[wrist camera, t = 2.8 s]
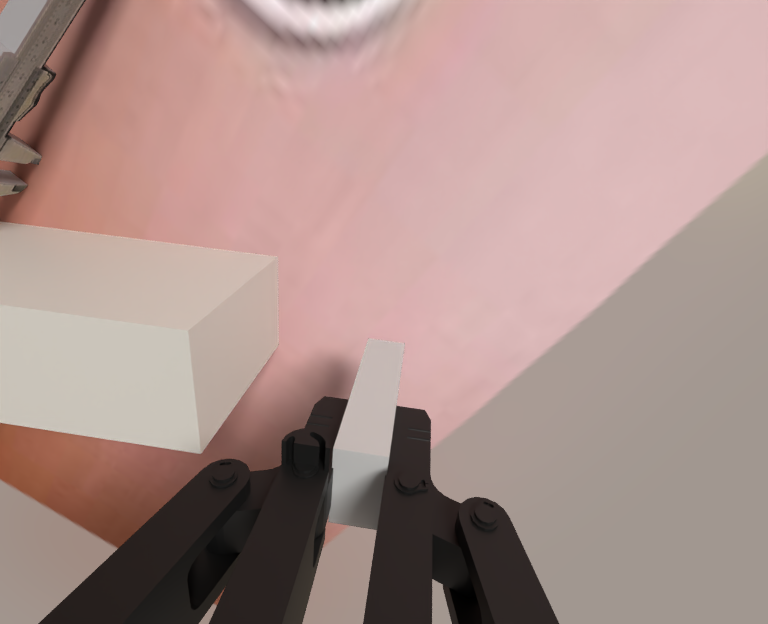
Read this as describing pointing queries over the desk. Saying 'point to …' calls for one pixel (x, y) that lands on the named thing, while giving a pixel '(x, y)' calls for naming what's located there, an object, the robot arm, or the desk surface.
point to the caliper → (26, 71)
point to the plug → (130, 334)
